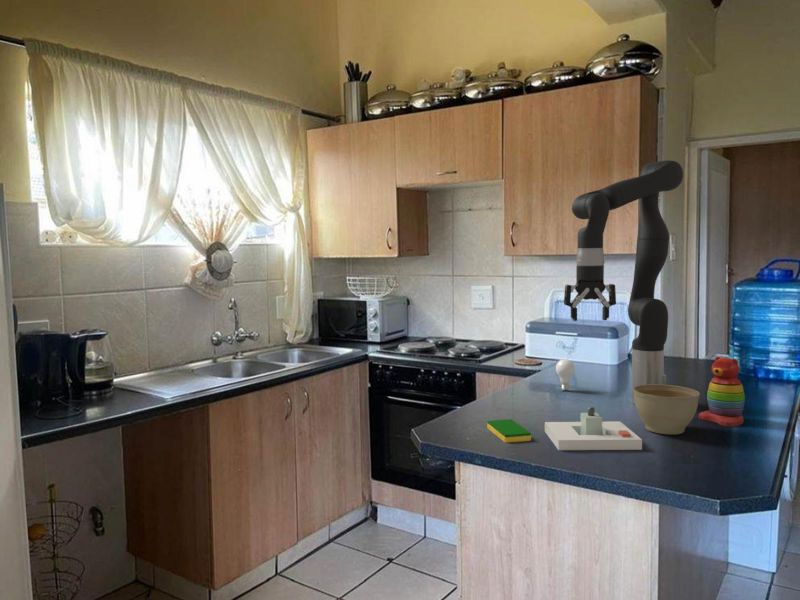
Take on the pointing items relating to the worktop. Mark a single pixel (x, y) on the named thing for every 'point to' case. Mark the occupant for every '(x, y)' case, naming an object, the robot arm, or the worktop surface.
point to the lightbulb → (565, 372)
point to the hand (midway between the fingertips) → (589, 320)
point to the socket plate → (592, 437)
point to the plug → (590, 423)
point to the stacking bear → (725, 394)
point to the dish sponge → (509, 430)
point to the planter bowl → (665, 407)
